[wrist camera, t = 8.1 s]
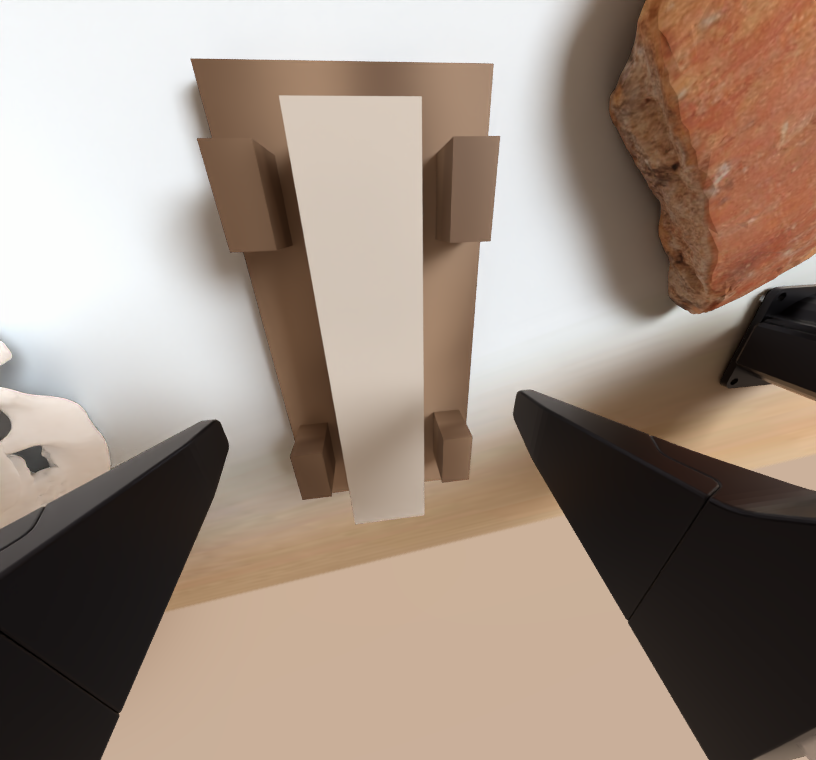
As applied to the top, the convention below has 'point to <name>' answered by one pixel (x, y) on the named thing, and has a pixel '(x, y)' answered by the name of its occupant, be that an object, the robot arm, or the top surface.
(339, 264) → the clay strip
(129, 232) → the top surface
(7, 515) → the skull bowl
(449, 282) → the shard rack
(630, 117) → the ceramic shard
